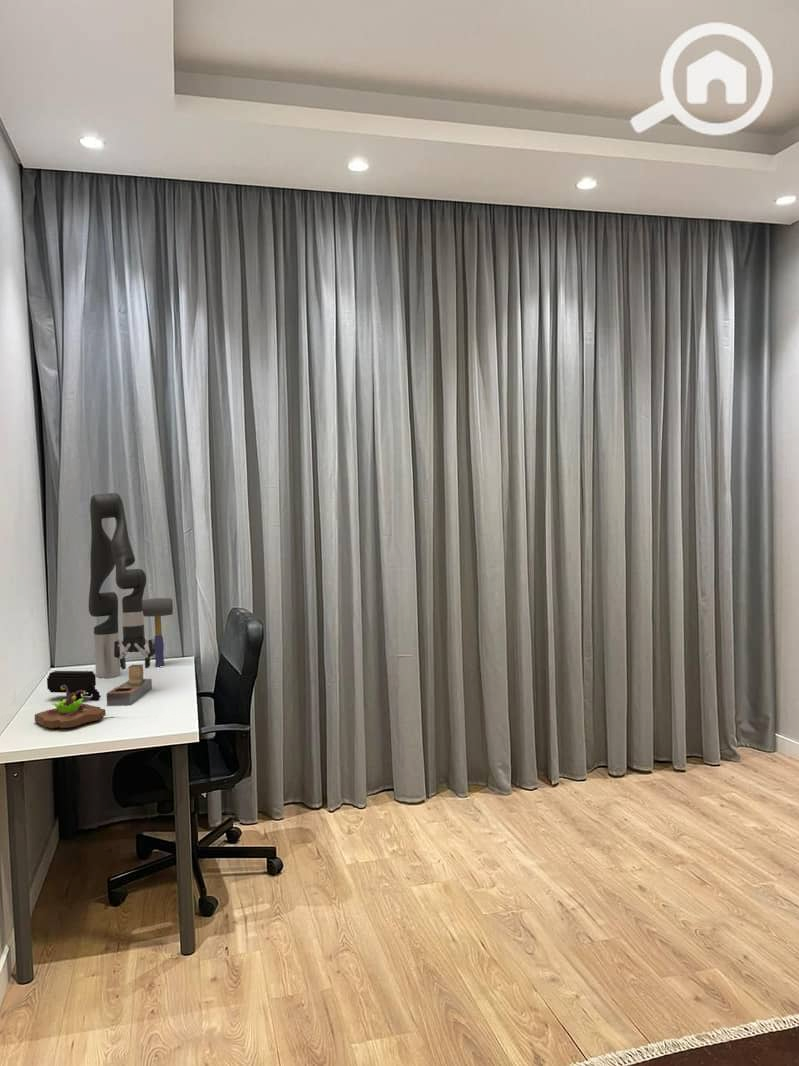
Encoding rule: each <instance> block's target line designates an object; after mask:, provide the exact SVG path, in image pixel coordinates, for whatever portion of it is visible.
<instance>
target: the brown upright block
mask: <svg viewBox="0 0 799 1066" xmlns="http://www.w3.org/2000/svg"><path fill="white" fill-rule="evenodd" d="M144 679H145V678H144V664H142V663H141V664H131V665H129V666H128V680H129V684H136V683H143V682H144Z"/></svg>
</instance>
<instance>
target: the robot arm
mask: <svg viewBox="0 0 799 1066" xmlns="http://www.w3.org/2000/svg"><path fill="white" fill-rule="evenodd" d="M89 503H90V504H89V513H90V530H91V532H90V533H91V536H90V539H91V540H90V555H89V556H90V561H89V562H90V565H89V567H90V579H89V580H90V581H89V594H88V604H87V605H88V613H89V615H90V616H91V617H94V618H97V617H99V618H100V617H107V619H106V620H105V621H103V622H101V623H100V624H98V625H96V626H94V627H93V639H94V640H93V641H94V643H93V644H94V662H95V663H94V665H95V677H96V679H113V678H117V676H118V677H120V676H121V673H122V672H121V670H125V669H126V668H127V667H126V666H127V664H126V663H127V662H126V656H127V654H128V653H134V652H135V653H139V652H140V653H141V655H142V656H144V668H145V669H149V668H150V666H151V657H154V656H155V647H154V639H153V638H151V639H146V637H145V636H146V635H145V634H146V633H145V616H143V605H142V600H144V599H143V598H144V592H145V588H146V584H147V573H146V572H145V571H144V570H143V569H142V568H132V569H131V568H130V569H127V568H128V567H131V566H132V565H134V564H135V562H136V557H135V555H134V551H133V549H132V545H131V542H130V538H129V533H128V525H127V520H126V514H125V507H124V503H123V500H122V498H121V496H120V494H118V493H115V492H111V493H98V494H93V495H92V496H91V498H90V502H89ZM112 518H115V522H116V524H115V525H116V526H115V530H114V533H113V535H112V538H110V537H109V536H108V535H107V533H106V531H105V530H104V527H103V520H104V519H112ZM114 569H115V583H116V586H117V587H118V588H120V589H121V590H132V589H133V590H132V591H131V593H130V594H127V595H125V596H123V597H122V599H121V604H122V605H121V606H122V608H121V609H122V615H121V617H122V618H121V620H122V621H121V625H122V640H120V636H119V635H120V634H119V633H120V632H119V599H118V598H119V597H118V595H117V593H116V592H115V591H110V592H108V591H107V592H100V591H101V588H102V586H103V584H104V582H105V581H106V579H107V578H108V577H109V576H110V574H111V573H112V571H113V570H114ZM145 645H147V646H148V649H149V650H148V649H147V648H146V647H145ZM122 646H123V647H124V649H123V650H122V652H121V647H122ZM148 651H149V652H148Z"/></svg>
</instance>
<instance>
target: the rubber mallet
mask: <svg viewBox="0 0 799 1066" xmlns="http://www.w3.org/2000/svg"><path fill="white" fill-rule="evenodd" d="M142 605H143V616H144V617H154V639H153V640H154V647H155V655H154V656H155V663H154V667H155V666H156V667H155V668H157V667H159V668H161V667H160V666H164V665H165V666H166V664H165V659H164V657H165V656H164V655H165V654H164V651H165V648H164V647H165V642H164V637H163V634H162V632H163V631H162V630H163V629H162V617H165V616H172V615H173V614H174V605H173V599H172V598H168V597H167V598H166V597H165V598H163V597H162V598H161V597H159V598H158V597H157V598H147V599H142ZM165 666H164V667H165Z"/></svg>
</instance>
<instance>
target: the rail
mask: <svg viewBox="0 0 799 1066" xmlns="http://www.w3.org/2000/svg"><path fill="white" fill-rule="evenodd" d="M152 682H153V680H152V678H144V682H143V683H136V684H129V679H128V680H127V681H125V682H124V683H121V685H119V686H116V687H114V688H112V689H111V690H109V691H107V692H106V706H108V707H109V706H131V705H132V704H134V703H135V702H137V701H138V700H139V699H141V698H142V697H144V696H145V695H146V694H148V692H150V691H151V690H153V683H152Z"/></svg>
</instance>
